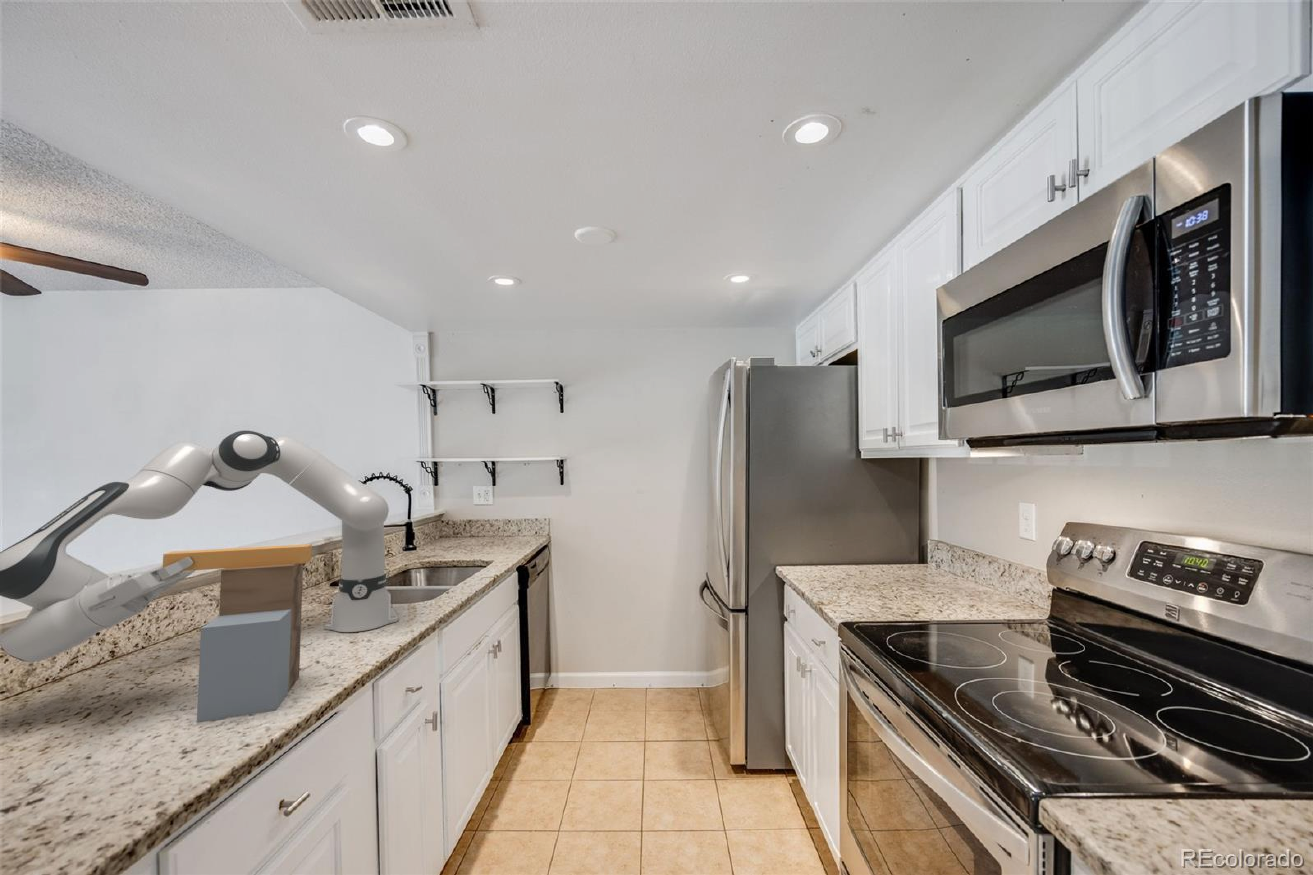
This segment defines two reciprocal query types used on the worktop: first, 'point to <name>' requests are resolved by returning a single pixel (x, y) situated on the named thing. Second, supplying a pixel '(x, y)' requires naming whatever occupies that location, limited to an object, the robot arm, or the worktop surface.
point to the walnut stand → (266, 598)
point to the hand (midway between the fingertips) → (197, 557)
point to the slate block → (243, 664)
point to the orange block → (241, 557)
